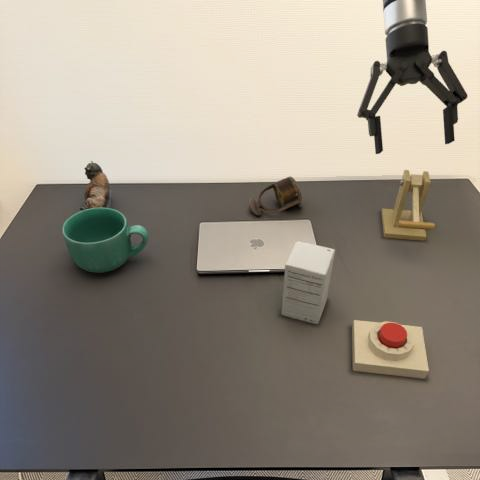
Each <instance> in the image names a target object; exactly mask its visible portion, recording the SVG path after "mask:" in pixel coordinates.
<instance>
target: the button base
mask: <svg viewBox="0 0 480 480" xmlns="http://www.w3.org/2000/svg"><path fill="white" fill-rule="evenodd" d="M386 323H397V324H399V325H401V326H403V327H404V328H405V330H406V331H407V338H406V340H405V343H404V345H403V346H402V347H400V348H388V347H386V346H384V345H383V344H382V343H381V342H380V341H379V338H378V336H379V332H380V329H381V327H382V326H383V325H384V324H386ZM351 349H352V351H351V352H352V353H351V355H352V356H351V357H352V371H354V372H362V373H368V374H369V373H370V374H379V375H388V376H397V377H404V378H414V379H422V380H426V379H427V376H428V374H429V372H430V369H429V363H428V357H427V350H426V345H425V338H424V331H423V326H416V325H407V324H400V323H398V322H395V321H387V320H386V321H384V320H383V321H382V322H380V321H379V322H378V321H368V320H359V319H353V322H352V326H351Z"/></svg>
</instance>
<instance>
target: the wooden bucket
mask: <svg viewBox="0 0 480 480" xmlns="http://www.w3.org/2000/svg"><path fill="white" fill-rule="evenodd" d="M272 189H273V193H274V195H275V199H276V201H277V203H278V205H279V206H280V207H279V208H274V209H273V208H268V207H265V206H264V205H263V204H262V201H261V199H262V197H263V194H265V192H267V191H269V190H272ZM301 192H302V191H301V189H300V187H299V184H298V183H297V180H296V179H295V178H294V177H292V176H291V175H290V176H287V177H285V178H282V179H280V180H278V181H275V182H273V183H272V184H269V185H267V186H265V187H264V188H263V189H262V190H261V191H260V192H259V194H258V197H257V201H256V200H255V199H254V198H250V199H249V201H248V207H249V210H250V211H251V213H253V214H254V215H255V216H261V215H262V210H263V211H264V212H267V213H271V214H277V213H280V212H282V211H285V210H287V209H289V208H291V207H294V206H296V205H297V206H298V207H299V208H302V199H303V197H302V193H301Z"/></svg>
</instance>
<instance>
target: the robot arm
mask: <svg viewBox="0 0 480 480" xmlns="http://www.w3.org/2000/svg"><path fill="white" fill-rule="evenodd" d="M382 9H383V10H382V11H383V23H384V35H386V37H385V51H386V62H380V61H379V60H375V61H374V62H373V63H372V65H371V67H370V77H369V81H368V84H367V86H366V89H365V92H364V94H363V97H362V100H361V103H360V105H359V108H358V111H357V113H356V114H357V115H356V116H357V118H359V119H362V118H363V119H365V120H366V121H367V128H368V129H367V130H368V135H369V137H373V140H374V151H375V155H379V154H381V153H382V152H383V151H384V145H383V134H382V122H381V115H377V113H378V112H379V111H380V109H381V107H382V106H383V105H384V103H385V101H386V100H387V98H388V97H389V95H390V94H391V92H392V90H393V89H394V88H395V86H396V85H398V86H399V87H403V86H404V87H405V86H406V85H416V84H417V83H421V85H423V86H425V87H426V88H427V89H428V90H429V91H430V92H431V93H432V94H433V95H435V97H436V98H437V99H438V100H439V101H440V102H441V103H443V105H444V106H446V107H445V108H443V109H442V118H443V133H444V144H445V145H450V144H451V143H453V142H456V141H455V140H456V139H455V126H454V125H456V124H457V123H458V121H459V115H458V114H459V111H458V106H459V104H461V103H462V102H464V101H465V100H467V98H468V93H467V92H466V90H465V88H464V86H463V85H462V83H461V82H460V79H459V78H458V76H457V74H456V73H455V70H454V69H453V67H452V66H451V64H450V62H449V55H448V52H447V51H446V50H442V51H441V52H440V53H437V54H431V53H430V45H429V27H428V26H427V23H428V14H427V3H426V0H382ZM431 64H433V67H434V68H436V69H437V72H438V73H439V75H440V77H441V79H442V80H443V82H444V84H443V83H442V82H441V81H440V80H439V78H437V77H436V75H435V73H434V72H433V71H432V70H431V69H430V66H431ZM384 71H385V72H386V74H387V75H388V76H389V77H390V79H389V81H388V82H387V84H386V85H385V87H384V89H383V90H382V91H381V93H380V95H379V96H378V98H377V99H376V101H374V102H375V103H374V104H373V106H372V107H371V109H368V107H369V105H370V103H371V100H372V97H373V94H374V92H375V89H376V87H377V83H378V81H379V77H381V76H382V75H383V74H384Z"/></svg>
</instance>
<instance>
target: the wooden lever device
mask: <svg viewBox="0 0 480 480" xmlns="http://www.w3.org/2000/svg"><path fill="white" fill-rule="evenodd" d="M421 175H422V186H421V189H420V191H419V222H424V217H423V212H422V211H423V208H424V204H425V201H426V198H427V196H428V193H429V189H430V187H431V183H432V182H431V178H430V174H429V171H423V172H422V174H421ZM410 176H411V174H410V170H408V169H404V170H403V173H402V176H401V179H400V180H399V181H400V182H399V188H398V192H397V196H396V200H395V203H394V206H393V208H381V213H380V214H381V222H382V231H383V232H382V233H383V238H384V239H386V238H387V239H397V240H410V241H422V242H425V241H426V239H427V232H426V230H423V229H411V228H399V227H398V221H399V220H402V221H413V219H412V210H409V209H407V210H406V209H404V208H405V207H404V206H405V204H406V200H407V196H408V193H409V192H408V190H409V186H410V183H411V178H410Z"/></svg>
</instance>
